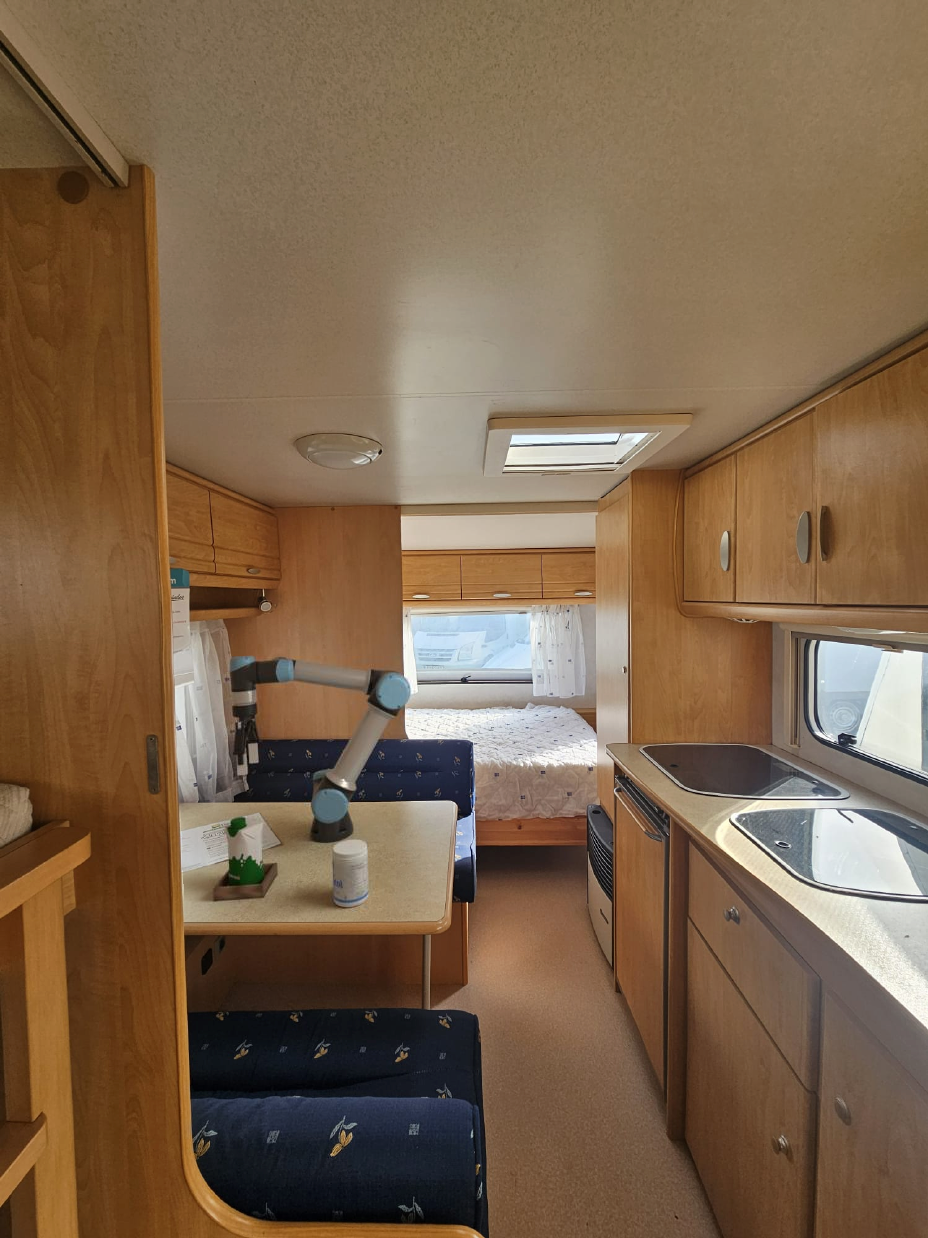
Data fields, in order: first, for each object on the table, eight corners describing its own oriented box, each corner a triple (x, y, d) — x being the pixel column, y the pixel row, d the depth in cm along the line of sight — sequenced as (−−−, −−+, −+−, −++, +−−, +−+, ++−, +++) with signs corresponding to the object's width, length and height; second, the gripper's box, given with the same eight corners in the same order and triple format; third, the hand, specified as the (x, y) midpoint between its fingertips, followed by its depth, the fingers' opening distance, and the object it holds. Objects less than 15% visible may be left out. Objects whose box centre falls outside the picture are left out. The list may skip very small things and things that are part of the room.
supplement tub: (326, 901, 143) (324, 848, 143) (354, 886, 150) (352, 836, 150) (348, 913, 137) (346, 857, 137) (376, 897, 144) (374, 844, 144)
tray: (277, 874, 160) (277, 862, 160) (263, 897, 146) (262, 885, 146) (232, 877, 159) (231, 865, 159) (213, 901, 145) (213, 889, 145)
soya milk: (223, 889, 151) (221, 820, 151) (250, 875, 159) (248, 809, 158) (243, 896, 146) (240, 825, 146) (270, 881, 154) (267, 814, 154)
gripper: (243, 698, 181) (247, 759, 181) (219, 711, 157) (223, 781, 157) (265, 697, 182) (269, 757, 182) (245, 709, 158) (249, 779, 158)
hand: (248, 768), depth 170 cm, fingers open, 13 cm apart
